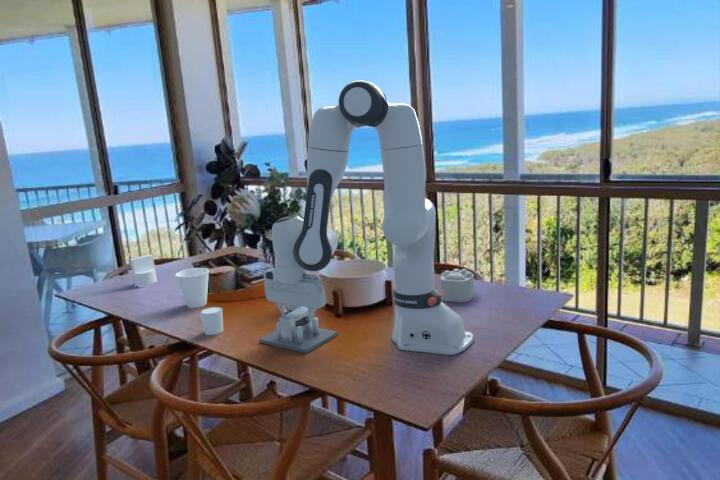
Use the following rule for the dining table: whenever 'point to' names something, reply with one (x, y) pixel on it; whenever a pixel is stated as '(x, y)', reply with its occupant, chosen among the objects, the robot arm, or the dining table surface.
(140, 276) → the base with upright slab
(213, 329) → the white short cylinder
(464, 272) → the bowl of white balls
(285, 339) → the drive
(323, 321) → the dining table surface
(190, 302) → the cup
